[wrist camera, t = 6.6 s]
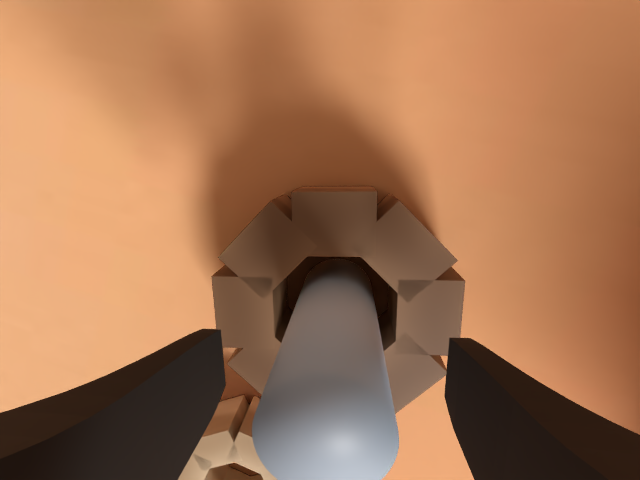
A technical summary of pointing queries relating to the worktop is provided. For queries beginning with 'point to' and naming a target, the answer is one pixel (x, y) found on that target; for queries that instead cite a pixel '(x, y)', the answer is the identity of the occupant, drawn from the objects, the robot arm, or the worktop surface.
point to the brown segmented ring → (341, 241)
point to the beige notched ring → (227, 445)
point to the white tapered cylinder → (329, 385)
